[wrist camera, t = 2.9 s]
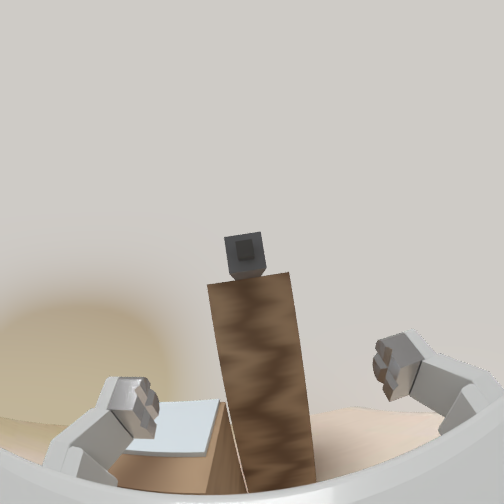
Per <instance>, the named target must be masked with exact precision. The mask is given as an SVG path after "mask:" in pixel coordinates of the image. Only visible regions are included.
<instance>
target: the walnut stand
mask: <svg viewBox="0 0 504 504" xmlns="http://www.w3.org/2000/svg"><path fill="white" fill-rule="evenodd" d="M207 287H208V294H209V301H210V307H211V313H212V320H213V325H214V332H215V338H216V343H217V350H218V355H219V360H220V366H221V371H222V376H223V382H224V387H225V392H226V397H227V402H228V407H229V411H230V416H231V421H232V425H233V430H234V434H235V439H236V443H237V447H238V452H239V456H240V460H241V464H242V468H243V472H244V476H245V480H246V484H247V488H248V491H249V493H257V492H266V491H273V490H280V489H286V488H292V487H298V486H303V485H308V484H312V483H316V473H315V462H314V452H313V443H312V433H311V424H310V416H309V407H308V399H307V391H306V383H305V375H304V368H303V361H302V353H301V346H300V339H299V333H298V326H297V320H296V313H295V306H294V300H293V294H292V288H291V281H290V275H289V272H287V273H280V274H274V275H267V276H261V277H255V278H248V279H242V280H235V281H229V282H222V283H216V284H208V285H207ZM108 472H109V473H110V474H112V475H113V476H114V477H115V478H116V479H117V480H118V484H117V487H120V488H126V489H132V490H139V491H146V492H155V493H165V494H180V495H231V494H246V493H247V491H246V487H245V484H244V480H243V476H242V472H241V468H240V464H239V460H238V456H237V452H236V448H235V444H234V439H233V435H232V431H231V426H230V422H229V417H228V412H227V408H226V403H225V402H220V405H219V408H218V412H217V416H216V420H215V424H214V427H213V431H212V435H211V439H210V442H209V446H208V450H207V454H206V457H159V456H143V455H132V454H121V456H120V457H119V458H118V459H117V460H116V461H115V463H114V464H113V465H112V466H111V467H110V468H109V470H108Z"/></svg>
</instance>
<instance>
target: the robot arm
mask: <svg viewBox="0 0 504 504" xmlns="http://www.w3.org/2000/svg"><path fill="white" fill-rule="evenodd" d="M375 349H376V351H377V352H378V353H377V354H376V355H375V356H374V358H373V371H374V374H375V376H376V378H377V380H378V381H379V382H381V383H383V384H384V385H383V391H384V393H385V395H386V397H387V398H388V400H389V402H391V401H394V400H397V399H399V398H402V397H405V396H407V395H410V397H412V398H414V399H415V400H417V401H419V402H420V403H422V404H423V405H425V406H427V407H429V408H430V409H432V410H433V411H435V412H437V413H439V414H440V415H442V416H444V417H445V419H444V420H443V422H442V423H441V425H440V426H439V429H438V431H439V433H440V435H441V436H439V437H437V438H436V439H434V440H432V441H430V442H428V443H426V444H424V445H422V446H420V447H418V448H415V449H413V450H411V451H409V452H407V453H404V454H402V455H400V456H397V457H395V458H393V459H390V460H388V461H385V462H383V463H380V464H377V465H374V466H372V467H369V468H366V469H363V470H360V471H357V472H354V473H350V474H347V475H344V476H340V477H337V478H333V479H329V480H325V481H321V482H317V483H312V484H308V485H303V486H298V487H292V488H286V489H280V490H273V491H266V492H257V493H246V494H231V495H180V494H165V493H155V492H146V491H139V490H132V489H126V488H120V487H117V484H118V480H117V479H116V478H115V477H114V476H113V475H112V474H110V473H109V472H108V470H109V468H110V467H111V466H112V465H113V464H114V463H115V461H116V460H117V459H118V458H119V457H120V456H121V454H122V453H123V452H124V451H125V450H126V448H127V447H128V446H129V445H130V444H131V442H132V441H133V440H134V439H154V438H155V432H156V427H157V424H156V423H155V421H154V419H155V418H156V417H157V416H158V415H159V410H160V407H159V400H158V397H157V395H156V393H155V392H154V391H153V390H151V389H150V382H149V381H148V379H147V378H145V377H108V378H107V379H106V381H105V383H104V386H103V388H102V391H101V394H100V396H99V399H98V401H97V404H96V406H95V408H91V409H90V410H89V411H87V412H86V413H85V414H84V415H82V416H81V417H80V418H79V419H77V420H76V421H75V422H74V423H72V424H71V425H70V426H69V427H67V428H66V429H65V430H64V431H62V432H61V433H60V434H59V435H57V436H56V437H55V438H54V439H52V441H51V443H50V446H49V448H48V451H47V453H46V456H45V459H44V461H43V464H42V466H41V465H39V464H36V463H34V462H31V461H29V460H27V459H24V458H22V457H20V456H18V455H15V454H13V453H11V452H9V451H7V450H5V449H3V448H1V447H0V504H504V389H503V388H502V386H501V385H500V384H499V383H498V381H497V380H496V379H495V378H494V377H493V376H492V374H491V373H490V372H489V371H487V370H484V369H481V368H479V367H476V366H473V365H470V364H468V363H465V362H462V361H459V360H457V359H454V358H451V357H449V356H446V355H443V354H441V353H440V354H436V353H435V352H434V350H433V349H432V348H431V347H430V346H429V345H428V343H427V342H426V341H425V340H424V339H423V338H422V336H421V335H420V334H419V333H418V332H417V331H416V330H415V329H411V330H408V331H405V332H402V333H399V334H396V335H393V336H390V337H387V338H384V339H380V340H378V341H377V343H376V347H375ZM133 438H134V439H133Z"/></svg>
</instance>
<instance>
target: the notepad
mask: <svg viewBox="0 0 504 504" xmlns="http://www.w3.org/2000/svg"><path fill="white" fill-rule="evenodd" d="M219 405H220V400H219V399H213V400H200V401H182V402H159V407H160V410H159V415H158V416H157V417H156V418H155V419H154V421H155V423H156V424H157V427H156V432H155V438H154V439H134V438H133V439H134V440H133V441H132V442H131V444H130V445H129V446H128V447H127V448H126V450H125V451H124V452H123V453H122V454H132V455H143V456H159V457H206V454H207V450H208V446H209V442H210V439H211V435H212V431H213V427H214V424H215V420H216V416H217V412H218V408H219Z"/></svg>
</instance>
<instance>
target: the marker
mask: <svg viewBox="0 0 504 504" xmlns="http://www.w3.org/2000/svg"><path fill="white" fill-rule="evenodd" d="M224 240H225V246H226V253H227V260H228V267H229V273H230V275H231V276H232V277H233V278H234V279H235V280H242V279H248V278H255V277H261V275H262V273H263V272H264V271H265V269H266V262H265V255H264V249H263V243H262V237H261V232H255V233H249V234H242V235H236V236H229V237H224Z"/></svg>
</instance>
